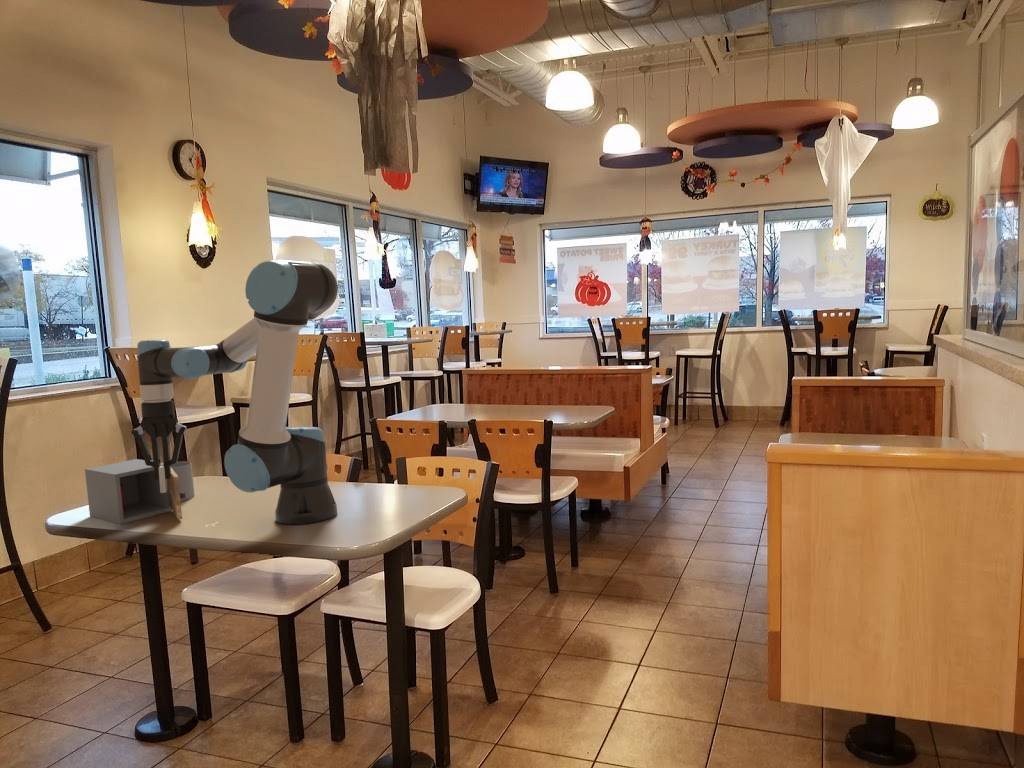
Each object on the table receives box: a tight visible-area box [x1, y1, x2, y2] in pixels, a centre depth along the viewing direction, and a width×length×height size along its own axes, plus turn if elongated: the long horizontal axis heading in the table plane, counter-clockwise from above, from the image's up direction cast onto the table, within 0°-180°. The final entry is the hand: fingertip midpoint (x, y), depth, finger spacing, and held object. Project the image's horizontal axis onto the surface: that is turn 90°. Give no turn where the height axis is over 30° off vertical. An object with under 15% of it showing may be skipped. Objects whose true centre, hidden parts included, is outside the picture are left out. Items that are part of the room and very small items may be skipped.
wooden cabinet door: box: [168, 468, 185, 520], centre depth 192 cm, size 2×14×11 cm, turn 32°
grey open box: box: [84, 458, 173, 525], centre depth 197 cm, size 16×14×13 cm
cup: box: [171, 461, 196, 502], centre depth 212 cm, size 8×8×10 cm
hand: (164, 491), depth 188 cm, fingers closed
